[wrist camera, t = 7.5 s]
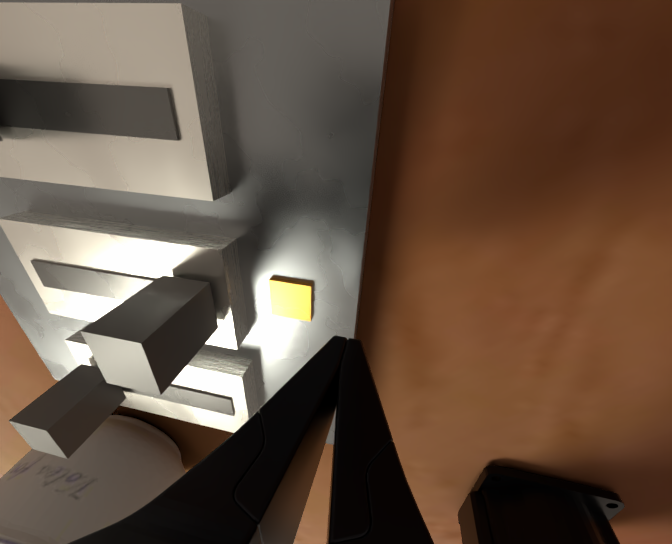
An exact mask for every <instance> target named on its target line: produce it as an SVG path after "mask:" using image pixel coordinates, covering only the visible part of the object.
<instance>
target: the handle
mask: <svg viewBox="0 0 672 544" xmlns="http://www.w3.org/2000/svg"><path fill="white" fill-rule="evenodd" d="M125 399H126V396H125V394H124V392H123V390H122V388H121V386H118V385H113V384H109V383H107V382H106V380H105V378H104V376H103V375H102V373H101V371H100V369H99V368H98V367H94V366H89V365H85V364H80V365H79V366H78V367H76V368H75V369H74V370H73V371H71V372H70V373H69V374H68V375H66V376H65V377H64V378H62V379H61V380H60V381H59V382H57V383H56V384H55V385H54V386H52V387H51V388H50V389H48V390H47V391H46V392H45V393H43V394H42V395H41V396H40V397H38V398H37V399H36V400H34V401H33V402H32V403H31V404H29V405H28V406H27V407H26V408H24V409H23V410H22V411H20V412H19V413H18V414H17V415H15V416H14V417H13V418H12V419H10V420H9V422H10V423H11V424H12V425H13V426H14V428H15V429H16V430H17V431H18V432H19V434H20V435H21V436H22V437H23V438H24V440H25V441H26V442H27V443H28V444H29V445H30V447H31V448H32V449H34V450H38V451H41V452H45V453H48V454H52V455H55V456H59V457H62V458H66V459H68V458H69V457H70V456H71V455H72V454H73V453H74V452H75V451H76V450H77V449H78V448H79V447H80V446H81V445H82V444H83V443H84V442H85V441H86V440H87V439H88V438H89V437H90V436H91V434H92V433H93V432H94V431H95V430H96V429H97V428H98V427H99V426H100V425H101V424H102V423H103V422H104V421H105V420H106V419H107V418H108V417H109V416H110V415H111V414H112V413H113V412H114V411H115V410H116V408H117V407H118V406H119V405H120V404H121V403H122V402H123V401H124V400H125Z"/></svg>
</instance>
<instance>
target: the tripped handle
mask: <svg viewBox="0 0 672 544" xmlns="http://www.w3.org/2000/svg"><path fill="white" fill-rule="evenodd" d="M217 329H218V323H217V317H216V312H215V307H214V302H213V297H212V292H211V287H210V283H209V282H203V281H197V280H190V279H184V278H178V277H172V276H165V275H162V276H160V277H159V278H158V279H156V280H155V281H153V282H152V283H150V284H149V285H147V286H146V287H144V288H143V289H141V290H140V291H138V292H137V293H136V294H134V295H133V296H131V297H130V298H128V299H127V300H125V301H124V302H122V303H121V304H119V305H118V306H116V307H115V308H114V309H112V310H111V311H109V312H108V313H106V314H105V315H103V316H102V317H100V318H99V319H97V320H96V321H94V322H93V323H92V324H90V325H89V326H87V327H86V328H84V329H83V330H81V331H80V332H81V333H82V335H83V337H84V339H85V341H86V343H87V345H88V347H89V349H90V351H91V353H92V355H93V357H94V359H95V361H96V363H97V365H98V367H99V369H100V371H101V373H102V375H103V376H104V378H105V380H106V382H107V383H109V384H113V385H118V386H122V387H127V388H131V389H135V390H140V391H144V392H148V393H153V394H157V395H162V394H163V393H164V391H165V390H166V389H167V388H168V387H169V386H170V384H171V383H172V382H173V381H174V380H175V378H176V377H177V376H178V375H179V374H180V373H181V371H182V370H183V369H184V368H185V367H186V366H187V364H188V363H189V362H190V361H191V360H192V358H193V357H194V356H195V355H196V354H197V353H198V351H199V350H200V349H201V348H202V347H203V345H204V344H205V343H206V342H207V341H208V340H209V338H210V337H211V336H212V335H213V334H214V333H215V331H216V330H217Z"/></svg>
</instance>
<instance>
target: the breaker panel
mask: <svg viewBox="0 0 672 544" xmlns="http://www.w3.org/2000/svg"><path fill="white" fill-rule="evenodd" d="M394 1H395V0H0V135H1V137H2V140H3V141H0V294H1V296H2V298H3V299H4V301H5V302H6V304H7V305H8V307H9V308H10V310H11V312H12V313H13V315H14V316H15V318H16V319H17V321H18V323H19V324H20V326H21V327H22V329H23V330H24V332H25V334H26V335H27V337H28V338H29V340H30V341H31V343H32V344H33V346H34V348H35V349H36V351H37V352H38V354H39V355H40V357H41V359H42V360H43V362H44V363H45V365H46V366H47V368H48V369H49V371H50V373H51V374H52V376H53V377H54V379H55V380H59V381H60V380H61V379H62V378H64V377H65V376H66V375H68V374H69V373H70V372H71V371H73V370H74V369H75V368H76V367H78V366H79V365H80V364H85V365H89V366H94V367H98V365H97V363H96V361H95V359H94V357H93V355H92V353H91V351H90V349H89V347H88V345H87V343H86V341H85V339H84V337H83V335H82V333H81V332H80V331H81V330H83V329H84V328H86V327H87V326H89V325H90V324H92V323H93V322H94V321H96V320H97V319H99V318H100V317H102V316H103V315H105V314H106V313H108V312H109V311H111V310H112V309H114V308H115V307H116V306H118V305H119V304H121V303H122V302H124V301H125V300H127V299H128V298H130V297H131V296H133V295H134V294H136V293H137V292H138V291H140V290H141V289H143V288H144V287H146V286H147V285H149V284H150V283H152V282H153V281H155V280H156V279H158V278H159V277H160V276H162V275H165V276H172V277H178V278H184V279H190V280H197V281H203V282H209V283H210V287H211V292H212V297H213V302H214V307H215V312H216V317H217V323H218V329H217V330H216V331H215V333H214V334H213V335H212V336H211V337H210V338H209V340H208V341H207V342H206V343H205V344H204V345H203V347H202V348H201V349H200V350H199V351H198V353H197V354H196V355H195V356H194V357H193V358H192V360H191V361H190V362H189V363H188V364H187V366H186V367H185V368H184V369H183V370H182V371H181V373H180V374H179V375H178V376H177V377H176V378H175V380H174V381H173V382H172V383H171V384H170V386H169V387H168V388H167V389H166V390H165V391H164V393H163V394H162V395H157V394H153V393H148V392H144V391H140V390H135V389H131V388H127V387H122V386H121V388H122V390H123V392H124V394H125V396H126V399H125V400H124V401H123V402H122V403H121V404H120V406H124V407H129V408H133V409H137V410H141V411H145V412H149V413H154V414H158V415H162V416H166V417H170V418H174V419H179V420H183V421H187V422H191V423H195V424H199V425H203V426H208V427H212V428H216V429H220V430H224V431H228V432H233V433H235V432H236V431H237V430H238V429H239V428H240V427H241V426H242V425H243V424H244V423H245V422H246V421H247V420H248V419H250V418H251V417H252V416H253V415H254V414H255V413H256V412H257V411H259V409H260V408H261V407H262V406H263V405H264V404H265V403H266V402H267V401H268V400H269V399H270V398H271V397H272V396H273V395H274V394H275V393H276V392H277V391H278V390H279V389H280V388H281V387H282V386H283V385H284V384H285V383H286V382H287V381H288V380H289V379H290V378H291V377H292V376H293V375H294V374H295V373H296V372H297V371H298V370H299V369H300V368H301V367H303V366H304V365H305V364H306V363H307V362H308V361H309V360H310V359H311V358H312V357H313V356H314V355H315V354H316V353H317V352H318V351H319V350H320V349H321V348H322V347H323V346H324V345H325V344H326V343H327V342H328V341H329V340H330V339H331V338H332V337H333V336H335V335H336V336H342V337H346V338H347V339H348V338H353V339H356V334H357V325H358V316H359V308H360V299H361V290H362V281H363V273H364V264H365V255H366V246H367V237H368V229H369V220H370V211H371V202H372V194H373V185H374V176H375V167H376V159H377V150H378V141H379V132H380V123H381V115H382V106H383V97H384V88H385V80H386V71H387V62H388V53H389V44H390V36H391V27H392V18H393V9H394ZM98 368H99V367H98ZM335 416H336V410H335V414H334V417H333V421H332V424H331V427H330V430H329V433H328V436H327V439H326V443H328V444H332V445H333V444H334V430H335Z"/></svg>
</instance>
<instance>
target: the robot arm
mask: <svg viewBox="0 0 672 544" xmlns="http://www.w3.org/2000/svg"><path fill="white" fill-rule="evenodd" d="M335 410H336V416H335V430H334V444H333V458H332V472H331V486H330V500H329V515H328V529H327V543H326V544H434V542H433V540H432V538H431V536H430V533H429V531H428V529H427V527H426V524H425V522H424V520H423V518H422V515H421V513H420V511H419V509H418V506H417V504H416V501H415V499H414V497H413V494H412V492H411V489H410V487H409V485H408V482H407V480H406V477H405V474H404V471H403V468H402V465H401V463H400V460H399V457H398V454H397V451H396V447H395V444H394V442H392V441H393V439H392V435H391V432H390V429H389V426H388V423H387V420H386V417H385V414H384V410H383V407H382V404H381V401H380V398H379V395H378V392H377V388H376V385H375V382H374V379H373V376H372V373H371V370H370V367H369V363H368V360H367V357H366V354H365V351H364V348H363V345H362V342H361V340H359V339H353V338H348V339H347V338H346V337H342V336H336V335H335V336H333V337H332V338H331V339H330V340H329V341H328V342H327V343H326V344H325V345H324V346H323V347H322V348H321V349H320V350H319V351H318V352H317V353H316V354H315V355H314V356H313V357H312V358H311V359H310V360H309V361H308V362H307V363H306V364H305V365H304V366H303V367H301V368H300V369H299V370H298V371H297V372H296V373H295V374H294V375H293V376H292V377H291V378H290V379H289V380H288V381H287V382H286V383H285V384H284V385H283V386H282V387H281V388H280V389H279V390H278V391H277V392H276V393H275V394H274V395H273V396H272V397H271V398H270V399H269V400H268V401H267V402H266V403H265V404H264V405H263V406H262V407H261V408H260V409H259V411H257V412H256V413H255V414H254V415H253V416H252V417H251V418H250V419H248V420H247V421H246V422H245V423H244V424H243V425H242V426H241V427H240V428H239V429H238V430H237V431H236V432H235V433H234V434H233V435H231V436H230V437H229V438H228V439H227V440H226V441H225V442H223V443H222V444H221V445H220V446H219V447H217V448H216V449H215V450H214V451H213V452H211V453H210V454H209V455H208V456H207V457H205V458H204V459H203V460H202V461H200V462H199V463H198V464H197V465H195V466H194V467H193V468H192V469H190V470H189V471H188V472H187V473H185V474H184V475H183V476H182V477H180V478H179V479H178V480H177V481H175V482H174V483H173V484H172V485H170V486H169V487H168V488H167V489H166V490H164V491H163V492H162V493H161V494H159V495H158V496H157V497H155V498H154V499H153V500H152V501H150V502H149V503H148V504H146V505H145V506H143V507H142V508H140V509H139V510H137V511H136V512H134V513H132V514H131V515H129V516H127V517H125V518H124V519H122V520H120V521H118V522H116V523H114V524H111V525H109V526H107V527H105V528H102V529H100V530H98V531H95V532H93V533H91V534H88V535H86V536H84V537H81V538H79V539H77V540H74V541H72V542H70V543H67V544H293V542H294V539H295V536H296V533H297V530H298V527H299V524H300V521H301V517H302V514H303V511H304V508H305V505H306V502H307V499H308V496H309V492H310V489H311V486H312V483H313V480H314V477H315V474H316V471H317V468H318V464H319V461H320V458H321V455H322V452H323V449H324V446H325V443H326V439H327V436H328V433H329V430H330V427H331V424H332V421H333V417H334V414H335ZM624 507H625V506H624V504H623V502H622V500H621V498H620V497H619V495H618V494H617V493H614V492H610V491H606V490H602V489H597V488H593V487H588V486H584V485H580V484H575V483H571V482H566V481H562V480H557V479H553V478H549V477H544V476H540V475H535V474H531V473H526V472H522V471H518V470H513V469H509V468H504V467H500V466H494V465H492V466H487V467H486V468H484V470H483V472H482V473H481V475H480V477H479V479H478V480H477V482H476V484H475V485H474V487H473V489H472V491H471V492H470V493H469V494H468V496H467V498H466V500H465V501H464V503H463V505H462V506H461V508H460V510H459V512H458V521H459V524H460V528H461V536H462V543H463V544H620V543H619V541H618V539H617V537H616V535H615V533H614V531H613V529H612V527H611V525H610V523H609V520H610V519H611V518H612V517H614V516H615V515H616V514H617V513H618V512H620V511H621V510H622V509H623V508H624Z"/></svg>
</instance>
